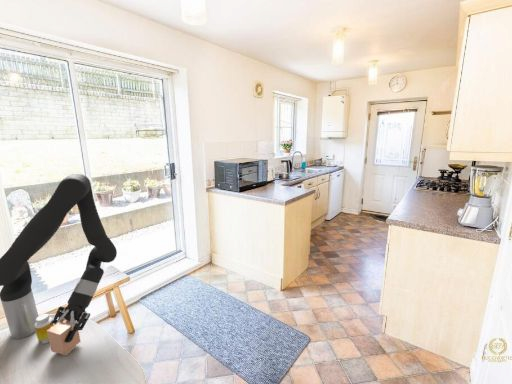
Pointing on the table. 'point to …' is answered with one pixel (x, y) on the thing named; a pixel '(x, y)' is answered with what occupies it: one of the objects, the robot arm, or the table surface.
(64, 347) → the salmon orange block
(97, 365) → the table surface
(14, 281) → the robot arm
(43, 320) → the supplement bottle
